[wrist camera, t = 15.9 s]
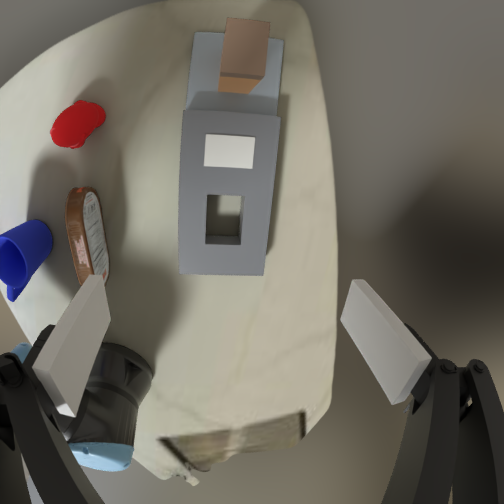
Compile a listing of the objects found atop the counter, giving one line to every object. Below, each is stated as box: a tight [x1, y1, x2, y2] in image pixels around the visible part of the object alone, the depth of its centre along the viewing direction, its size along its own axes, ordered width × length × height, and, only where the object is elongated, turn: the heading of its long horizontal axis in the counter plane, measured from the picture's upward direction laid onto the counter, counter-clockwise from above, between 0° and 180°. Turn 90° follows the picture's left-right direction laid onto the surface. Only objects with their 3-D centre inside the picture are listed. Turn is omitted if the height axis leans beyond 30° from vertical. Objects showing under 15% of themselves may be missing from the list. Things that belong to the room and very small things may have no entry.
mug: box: [0, 220, 53, 302], centre depth 32 cm, size 8×12×10 cm
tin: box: [65, 187, 109, 286], centre depth 34 cm, size 15×3×8 cm, turn 179°
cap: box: [50, 100, 106, 149], centre depth 28 cm, size 8×6×6 cm
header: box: [178, 110, 281, 276], centre depth 36 cm, size 12×22×4 cm, turn 175°
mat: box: [186, 32, 284, 116], centre depth 31 cm, size 12×12×1 cm
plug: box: [218, 18, 270, 94], centre depth 25 cm, size 4×6×12 cm, turn 175°
